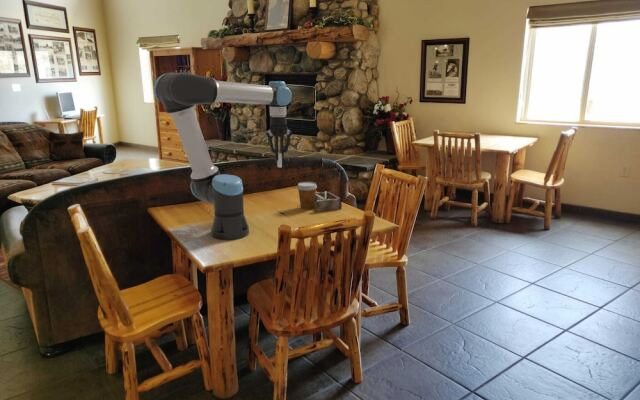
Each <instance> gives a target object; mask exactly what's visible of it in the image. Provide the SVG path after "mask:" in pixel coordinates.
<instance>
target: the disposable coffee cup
mask: <svg viewBox="0 0 640 400" xmlns="http://www.w3.org/2000/svg"><path fill="white" fill-rule="evenodd" d="M296 187H297V189H298V196H299V202H300V209H301V210H304V211H310V210H313V209H315V204H314V203H315V194H316V193H317V187H318V186H317V184H316V182H312V181H304V182H303V181H302V182H298V184H297V186H296Z"/></svg>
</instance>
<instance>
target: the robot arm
mask: <svg viewBox="0 0 640 400" xmlns="http://www.w3.org/2000/svg"><path fill="white" fill-rule="evenodd" d="M153 94H154V96H155V98H156V99H157V101H158V102H159V103H161V104H162V105H163V107H164V110H165V112H166V114H167V115H169V116H171V117H172V120H173V123H174V125H175V128H176V130H177V132H178V136H179V138H180V141H181V143H182V147H183V150H184V152H185V155H186V158H187V160H188V163H189V166H190V167H191V171H192V172H191V174H190V179H191V182H190V186H189V187H190V190H191V193H192V195H193V196H194V197H195V199H196V198H197V199H198V200H199V201H201V202H205V203H208V204H211V205H213V210H214V214H213V215H214V216H213V221H212V224H211V228H210V234H211V237H212V238H214V239H218V240H225V241H227V240H228V241H229V240H237V239H241V238H245V237H246V236H248V235H249V234H250V227H249V224H248V221H247V219H246V216H245V208H244V187H243V185H244V184H243V181H242V178H240V177H239V176H237V175H233V174H227V173H226V174H225V173H223V174H221V173H220V170H219V167H217V166H216V165H214V163H213V161H212V158H211V156H210V153H209V149H208V147H207V144H206V141H205V139H204V136H203V132H202V130H201V126H200V123H199V121H198V118H197V115H196V112H195V108H196V106H197V105H213V104H214V103H216V102H219V103H230V104H231V103H234V104H250V105H269V116H270V117H269V129H268V130H267V131H265V132H264V134H265V137H267V140H268V144H269V148H270V152H271V153H274V160H275V161H276V163H277V164H276V165H277V168H282V167H283V161H284V159H285V153H287V152H288V150H289V147H290V146H289V145H290V140H291V136H292V135H293V131H292V130H290V129H289V127H288V126H287V125H288V124H287V123H288V121H287V120H288V119H287V106H288V105H289V104H290V103H291V101H292V95H293V94H292V91H291V90H290V88H289V87H287V85H286V82H285V81H282V80H278V81H277V80H275V81H273V80H272V81H271V80H270V81H269V82H268V85H267V84H266V85H264V84H254V83H243V82H234V81H221V80H216V79H215V78H213V77H211V76H210V77H209V76H203V75H199V74H198V75H197V74H193V73H188V72H172V71H170V72H166V73H163V74H161V75H160V76H158V77H157V79H155V83H154V85H153ZM285 135H286V137H285ZM272 136H273V139H274V143H273V139H272ZM284 137H285V141H284Z"/></svg>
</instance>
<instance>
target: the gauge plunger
mask: <svg viewBox="0 0 640 400" xmlns="http://www.w3.org/2000/svg"><path fill="white" fill-rule="evenodd" d="M324 192H325V198H323V197H322V196H320V195H318V194H315V203H314V206H316V200H324V199H326V192H327V191H326V190H325V191H324Z"/></svg>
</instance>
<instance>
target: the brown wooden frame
mask: <svg viewBox="0 0 640 400" xmlns="http://www.w3.org/2000/svg"><path fill="white" fill-rule="evenodd" d="M316 194H318V195H320V196H322V197H323V198H325V191H323V192H316ZM342 203H343V200H342V198H341V197H339V196H337V195H335V194H333V193H332V192H330V191H326V199H324V200H316V205H315V207H316V212H317V213H321V212H329V211H338V210H342V209H343V208H342V206H343V205H342Z"/></svg>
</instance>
